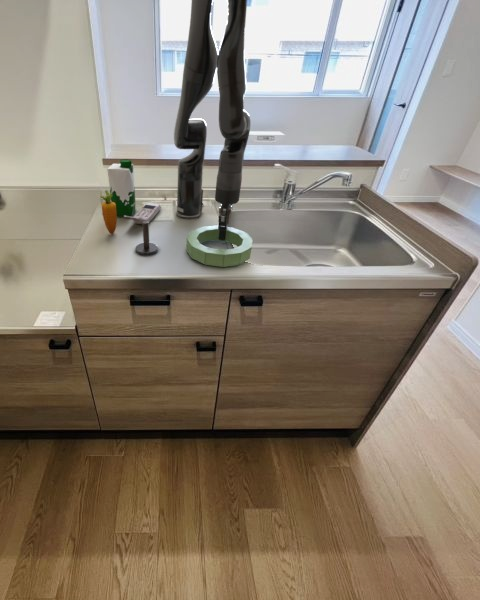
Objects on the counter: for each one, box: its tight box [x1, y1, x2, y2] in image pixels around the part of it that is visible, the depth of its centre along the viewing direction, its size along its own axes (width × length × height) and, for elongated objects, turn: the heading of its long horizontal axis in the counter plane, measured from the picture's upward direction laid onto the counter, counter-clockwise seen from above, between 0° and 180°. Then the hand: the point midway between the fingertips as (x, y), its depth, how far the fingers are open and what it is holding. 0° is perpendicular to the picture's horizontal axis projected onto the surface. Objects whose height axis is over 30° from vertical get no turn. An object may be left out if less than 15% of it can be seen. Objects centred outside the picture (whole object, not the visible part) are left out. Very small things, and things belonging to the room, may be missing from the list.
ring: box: [185, 225, 254, 268], centre depth 99 cm, size 20×20×4 cm
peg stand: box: [135, 221, 159, 257], centre depth 98 cm, size 7×7×10 cm
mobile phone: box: [123, 202, 162, 225], centre depth 119 cm, size 6×6×25 cm
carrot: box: [99, 189, 118, 236], centre depth 105 cm, size 5×5×15 cm
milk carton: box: [106, 158, 136, 218], centre depth 119 cm, size 9×9×20 cm
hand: (222, 237), depth 107 cm, fingers closed on ring, 3 cm apart
